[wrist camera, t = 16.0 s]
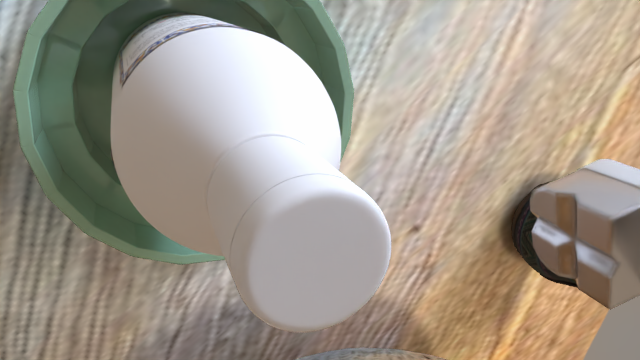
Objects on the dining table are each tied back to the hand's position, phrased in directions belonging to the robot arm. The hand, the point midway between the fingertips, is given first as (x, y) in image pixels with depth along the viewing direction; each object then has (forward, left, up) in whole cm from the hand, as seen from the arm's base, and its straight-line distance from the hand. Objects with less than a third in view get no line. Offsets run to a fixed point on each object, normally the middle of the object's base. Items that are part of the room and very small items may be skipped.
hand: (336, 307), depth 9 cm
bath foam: (0, 0, -21) cm, 21 cm away
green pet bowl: (0, 0, -21) cm, 21 cm away
